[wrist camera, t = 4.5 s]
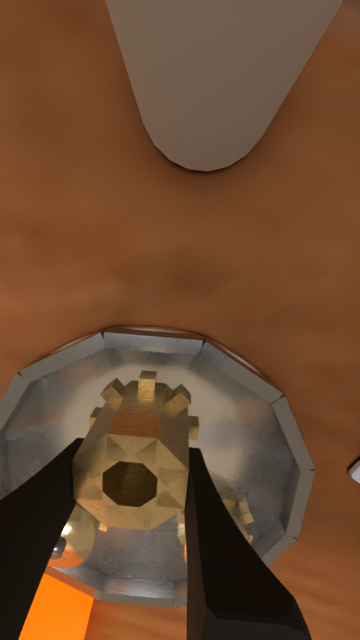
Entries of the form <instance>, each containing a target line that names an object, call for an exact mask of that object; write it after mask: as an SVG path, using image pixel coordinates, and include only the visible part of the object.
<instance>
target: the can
mask: <svg viewBox="0 0 360 640" xmlns="http://www.w3.org/2000/svg"><path fill="white" fill-rule="evenodd" d="M342 2H343V0H106V4H107V7H108V10H109V14H110V17H111V20H112V23H113V27H114V30H115V33H116V37H117V40H118V43H119V46H120V50H121V53H122V56H123V59H124V63H125V66H126V69H127V73H128V76H129V79H130V82H131V86H132V89H133V92H134V95H135V99H136V102H137V105H138V109H139V112H140V115H141V118H142V122H143V124H144V126H145V128H146V130H147V132H148V134H149V136H150V138H151V140H152V142H153V144H154V145H155V146H156V147H157V148H158V149H159V150H160V151H161V152H162V153H163V154H164V155H165V156H166V157H167V158H168V159H169V160H170V161H173V162H175V163H177V164H179V165H181V166H183V167H185V168H187V169H191V170H200V171H212V170H216V169H220V168H224V167H228V166H230V165H231V164H233V163H235V162H236V161H238V160H239V159H241V158H243V157H244V156H246V155H247V154H248V153H249V152H250V150H251V149H252V148H253V147H254V146H255V145H256V143H257V142H258V141H259V140H260V139H261V138H262V136H263V134H264V133H265V131H266V129H267V128H268V126H269V124H270V123H271V121H272V119H273V118H274V116H275V114H276V113H277V111H278V109H279V108H280V106H281V104H282V102H283V101H284V99H285V97H286V96H287V94H288V92H289V91H290V89H291V87H292V86H293V84H294V82H295V81H296V79H297V77H298V76H299V74H300V72H301V71H302V69H303V67H304V66H305V64H306V62H307V61H308V59H309V57H310V56H311V54H312V52H313V50H314V49H315V47H316V45H317V44H318V42H319V40H320V39H321V37H322V35H323V34H324V32H325V30H326V29H327V27H328V25H329V24H330V22H331V20H332V19H333V17H334V15H335V14H336V12H337V10H338V9H339V7H340V5H341V3H342Z"/></svg>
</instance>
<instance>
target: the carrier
mask: <svg viewBox="0 0 360 640" xmlns="http://www.w3.org/2000/svg"><path fill="white" fill-rule="evenodd" d="M142 370H144V371H155V372H157V381H156V382H157V383H166V384H167V385H168V386H169V387H170V388H171V389H172V390H173V389H175V388H176V387H177V386H179V385H180V384H182V385H183V386H184V387H185V388H186V389H187V390H188V391H189V392H190V393H191V404H190V405H188V416H198V417H199V434H198V440H189V447H193V448H200V449H201V452H202V455H203V458H204V461H205V464H206V466H207V469H208V471H209V474H210V476H211V478H212V480H213V483H214V485H215V487H216V489H217V491H218V493H219V495H220V497H221V499H222V501H223V503H224V504H225V506H226V508H227V510H228V511H229V513H230V515H231V516H232V518H233V520H234V521H235V523H236V524H237V526H238V528H239V529H240V531H241V532H242V534H243V535H244V537H245V538H246V539H247V541H248V542H249V543H250V545H251V546H252V547H253V549H254V550H255V552H256V553H257V554H258V556H259V557H260V558H261V560H262V561H263V562H264V563H265V564H266V566H267V567H268V566H269V565H270V564H271V563H272V562H274V561H275V560H276V559H277V558H278V557H279V556H280V555H281V554H282V553H283V552H284V551H285V550H287V549H288V548H289V547H290V546H291V545H292V544H293V543H294V542H295V541H296V540H297V539H296V537H297V538H298V537H299V533H300V529H301V525H302V522H303V518H304V514H305V510H306V506H307V502H308V498H309V494H310V490H311V486H312V482H313V479H314V475H315V470H314V469H315V467H314V464H313V462H312V459H311V457H310V455H309V452H308V450H307V447H306V445H305V443H304V440H303V438H302V435H301V433H300V431H299V428H298V426H297V423H296V421H295V419H294V416H293V414H292V411H291V409H290V407H289V404H288V402H287V399H286V397H285V395H284V394H283V393H282V391H281V390H280V389H279V387H278V386H277V385H276V384H275V383H273V382H272V381H270V380H269V379H267V378H266V377H264V376H263V375H262V374H261V373H260V372H259V371H258V369H257V368H256V367H254V366H253V365H252V364H251V363H249V362H248V361H247V360H246V359H244V358H243V357H242V356H240V355H239V354H238V353H236V352H234V351H232V350H231V349H229V348H227V347H226V346H224V345H222V344H221V343H218V342H216V341H213V340H211V339H209V338H207V337H204V336H202V335H199V334H195V333H192V332H188V331H184V330H181V329H175V328H169V327H162V326H142V325H134V326H125V327H115V328H114V327H110V328H108V329H107V328H105V329H103V330H101V331H98V332H94V333H91V334H88V335H86V336H83V337H81V338H78V339H76V340H73V341H71V342H70V343H68V344H66V345H64V346H62V347H61V348H59V349H57V350H55V351H54V352H52V353H51V354H49V355H48V356H46V357H43V358H41V359H39V360H37V361H35V362H33V363H31V364H29V365H28V366H26V367H24V368H23V369H21V370H20V371H19V372H18V373H16V375H15V377H14V378H13V380H12V382H11V384H10V385H9V387H8V389H7V391H6V392H5V394H4V396H3V398H2V399H1V401H0V500H1V499H2V498H4V497H5V496H7V495H8V494H10V493H11V492H12V491H14V490H15V489H17V488H18V487H19V486H21V485H22V484H23V483H24V482H26V481H27V480H28V479H30V478H31V477H32V476H33V475H35V474H36V473H37V472H38V471H40V470H41V469H42V468H43V467H44V466H45V465H47V464H48V463H49V462H50V461H51V460H53V459H54V458H55V457H56V456H57V455H58V454H59V453H60V452H62V451H63V450H64V449H65V448H66V447H67V446H68V445H69V444H71V443H72V442H73V441H74V440H75V439H76V438H85V437H86V435H87V434H88V432H89V417H90V415H91V414H92V412H93V411H94V409H95V407H101V408H102V407H103V406H104V404H105V402H106V400H105V399H104V398H103V397H102V396H101V395H100V394H101V393H102V391H103V390H104V388H105V387H106V386H107V385H108V384H109V383H110V382H112V381H113V380H114V379H115V378H118V379H119V380H120V382H121V383H122V384H123V385H124V386H125V385H126V384H127V383H129V382H130V381H131V380H135V381H139V376H140V374H141V372H142ZM44 573H45V574H47V575H49V576H51V577H53V578H55V579H57V580H59V581H61V582H63V583H65V584H67V585H69V586H71V587H73V588H75V589H77V590H79V591H81V592H83V593H85V594H87V595H89V596H91V597H93V598H95V599H97V600H100V599H101V598H102V601H104V602H115V603H126V604H137V605H148V606H159V607H170V608H174V605H175V606H176V608H177V607H180V606H184V605H187V550H186V534H185V518H184V509H183V510H182V511H180V512H179V513H177V514H175V515H174V516H172V517H171V518H169V519H168V520H166V521H164V522H163V523H161V524H160V525H158V526H157V527H155V528H153V529H152V530H139V529H129V528H118V527H107V526H104V525H103V524H102V523H101V522H100V521H99V520H98V519H96V518H95V517H94V516H93V515H92V514H91V513H90V512H88V511H87V510H86V509H85V508H84V507H83V506H81V505H80V504H79V503H78V502H77V503H76V505H75V507H74V509H73V512H72V514H71V516H70V518H69V520H68V522H67V524H66V526H65V528H64V530H63V532H62V534H61V536H60V538H59V540H58V542H57V544H56V546H55V548H54V551H53V553H52V555H51V557H50V560H49V562H48V564H47V567H46V569H45V572H44Z"/></svg>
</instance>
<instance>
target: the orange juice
mask: <svg viewBox="0 0 360 640" xmlns="http://www.w3.org/2000/svg"><path fill="white" fill-rule="evenodd" d="M93 599H94V598H93V597H91V596H89V595H87V594H85V593H83V592H81V591H79V590H77V589H75V588H73V587H71V586H69V585H67V584H65V583H63V582H61V581H59V580H57V579H55V578H53V577H51V576H49V575H47V574H45V573H44V574H43V577H42V579H41V582H40V584H39V587H38V590H37V592H36V595H35V597H34V600H33V602H32V605H31V608H30V610H29V613H28V615H27V618H26V621H25V623H24V626H23V629H22V632H21V634H20V637H19V640H84V636H85V632H86V628H87V624H88V620H89V616H90V611H91V607H92V603H93Z"/></svg>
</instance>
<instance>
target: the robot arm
mask: <svg viewBox="0 0 360 640" xmlns="http://www.w3.org/2000/svg"><path fill="white" fill-rule="evenodd" d="M84 439H85V438H76V439H75V440H74V441H73V442H72V443H71V444H69V445H68V446H67V447H66V448H65V449H64V450H63V451H62V452H60V453H59V454H58V455H57V456H56V457H55V458H54V459H53V460H51V461H50V462H49V463H48V464H47V465H45V466H44V467H43V468H42V469H41V470H40V471H38V472H37V473H36V474H35V475H33V476H32V477H31V478H30V479H28V480H27V481H26V482H24V483H23V484H22V485H21V486H19V487H18V488H17V489H15V490H14V491H12V492H11V493H10V494H8V495H7V496H5V497H4V498H2V499H1V500H0V640H19V637H20V634H21V632H22V629H23V626H24V623H25V621H26V618H27V615H28V613H29V610H30V608H31V605H32V602H33V600H34V597H35V595H36V592H37V590H38V587H39V584H40V582H41V579H42V577H43V574H44V572H45V569H46V567H47V564H48V562H49V560H50V557H51V555H52V553H53V551H54V548H55V546H56V544H57V542H58V540H59V538H60V536H61V534H62V532H63V530H64V528H65V526H66V524H67V522H68V520H69V518H70V516H71V514H72V512H73V509H74V507H75V505H76V503H77V501H76V500H75V499H73V465H72V460H73V458H74V456H75V454H76V453H77V451H78V449H79V447H80V446H81V444H82V442H83V440H84ZM349 475H350V476H351V477H352V478H353V479H354V480H355V481H357V482H358V483H360V460H359V461H358V462H357V463H356V464H355V465H354V466H353V467H352V468H351V469H350V470H349ZM184 518H185V534H186V550H187V640H312V639H311V635H310V633H309V630H308V627H307V625H306V622H305V620H304V618H303V615H302V613H301V611H300V609H299V606H298V604H297V602H296V600H295V598H294V597H293V596H292V595H291V593H290V592H289V591H288V590H287V589H286V588H285V587H284V586H283V585H282V583H281V582H280V581H279V580H278V579H277V578H276V577H275V575H274V574H273V573H272V572H271V571H270V569H269V568H268V567H267V566H266V564H265V563H264V562H263V561H262V560H261V558H260V557H259V556H258V554H257V553H256V552H255V550H254V549H253V547H252V546H251V545H250V543H249V542H248V541H247V539H246V538H245V537H244V535H243V534H242V532H241V531H240V529H239V528H238V526H237V524H236V523H235V521H234V520H233V518H232V516H231V515H230V513H229V511H228V510H227V508H226V506H225V504H224V503H223V501H222V499H221V497H220V495H219V493H218V491H217V489H216V487H215V485H214V483H213V480H212V478H211V476H210V474H209V471H208V469H207V466H206V464H205V461H204V458H203V455H202V452H201V449H200V448H193V447H189V475H188V484H187V492H186V501H185V509H184Z"/></svg>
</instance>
